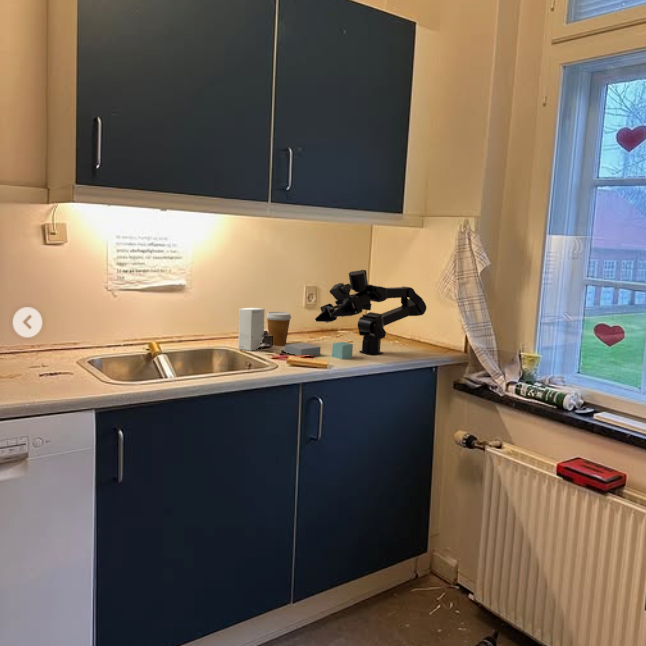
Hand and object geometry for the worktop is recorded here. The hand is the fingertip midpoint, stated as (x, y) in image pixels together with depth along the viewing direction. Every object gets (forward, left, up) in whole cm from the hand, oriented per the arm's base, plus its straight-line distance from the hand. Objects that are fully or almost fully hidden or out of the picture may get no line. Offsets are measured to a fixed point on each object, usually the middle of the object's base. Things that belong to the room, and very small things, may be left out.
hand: (323, 317), depth 212 cm
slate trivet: (-1, -11, -15) cm, 18 cm away
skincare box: (+9, -28, -15) cm, 33 cm away
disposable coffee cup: (-5, -30, -15) cm, 34 cm away
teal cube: (-10, 0, -15) cm, 18 cm away
